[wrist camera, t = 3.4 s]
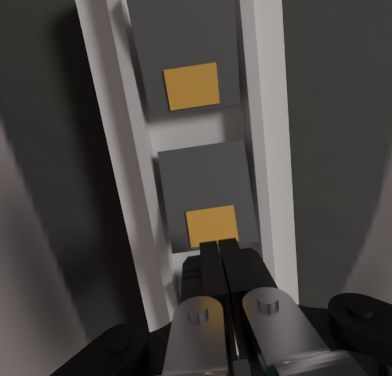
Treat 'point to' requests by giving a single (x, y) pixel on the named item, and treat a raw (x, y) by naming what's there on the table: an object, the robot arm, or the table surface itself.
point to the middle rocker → (207, 195)
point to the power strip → (194, 144)
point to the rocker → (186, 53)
